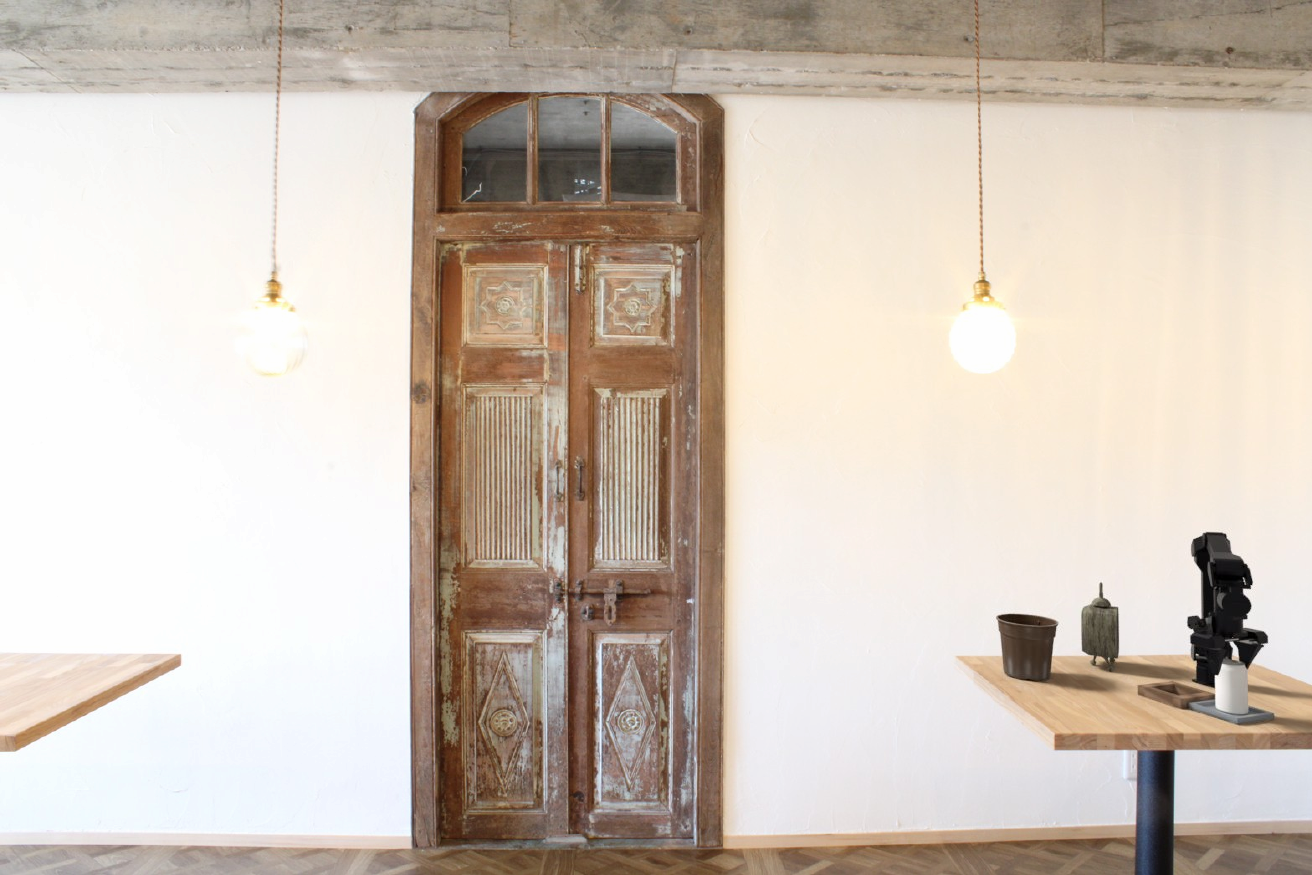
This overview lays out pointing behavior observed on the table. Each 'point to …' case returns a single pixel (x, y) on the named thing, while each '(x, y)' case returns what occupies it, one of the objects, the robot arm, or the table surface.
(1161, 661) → the table surface
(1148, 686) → the wooden square frame
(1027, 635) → the plant pot
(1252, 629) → the robot arm
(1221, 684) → the can
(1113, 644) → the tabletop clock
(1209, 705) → the tray
